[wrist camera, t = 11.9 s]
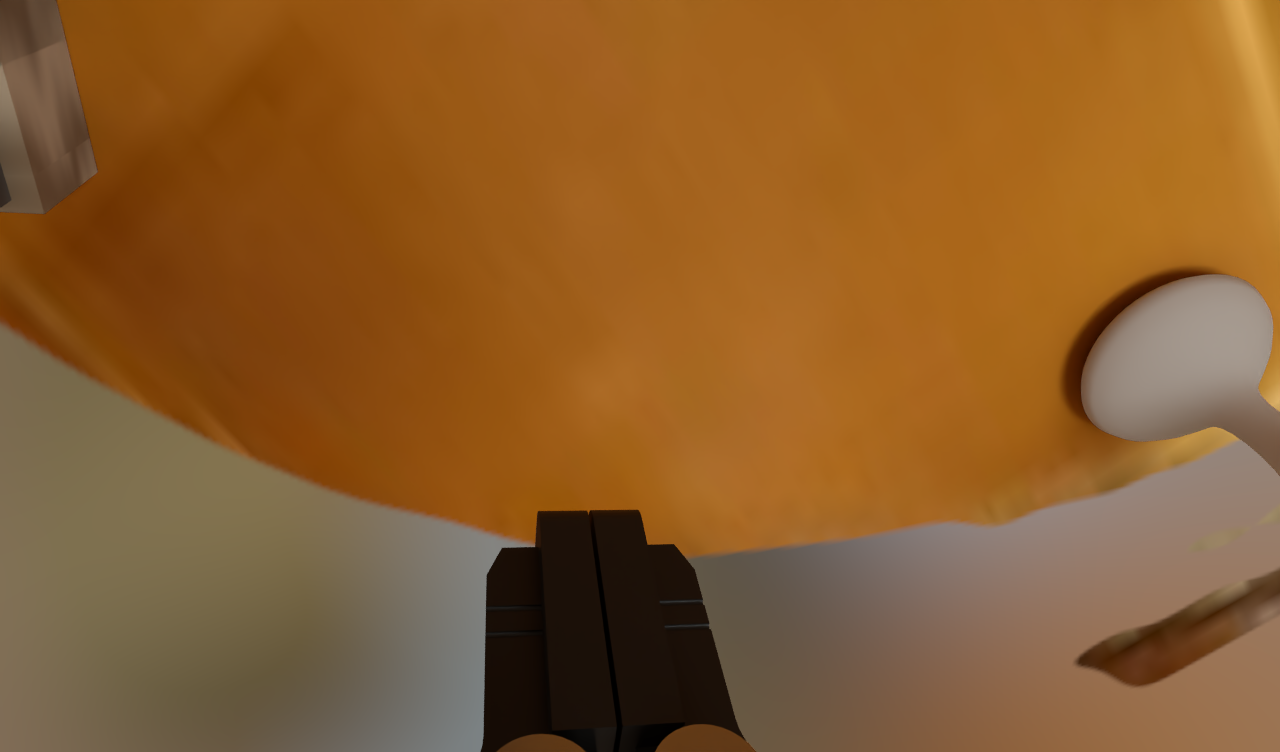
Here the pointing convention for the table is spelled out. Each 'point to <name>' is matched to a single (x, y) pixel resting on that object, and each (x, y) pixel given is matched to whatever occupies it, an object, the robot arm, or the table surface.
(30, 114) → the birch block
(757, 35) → the table surface
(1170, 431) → the flower in vase
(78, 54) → the table surface
